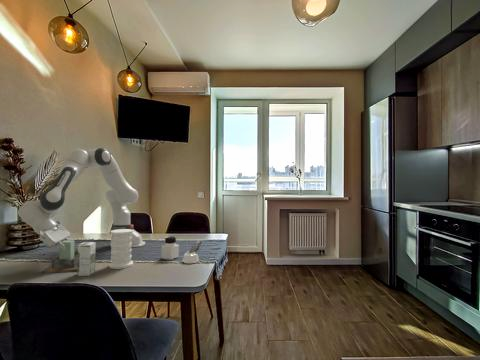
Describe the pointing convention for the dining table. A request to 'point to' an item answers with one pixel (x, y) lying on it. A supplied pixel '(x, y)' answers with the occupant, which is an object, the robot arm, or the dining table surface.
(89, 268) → the syrup box
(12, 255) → the dining table surface
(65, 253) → the square peg
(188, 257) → the inkwell
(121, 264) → the decorative container
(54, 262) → the collar stand
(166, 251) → the medicine bottle
